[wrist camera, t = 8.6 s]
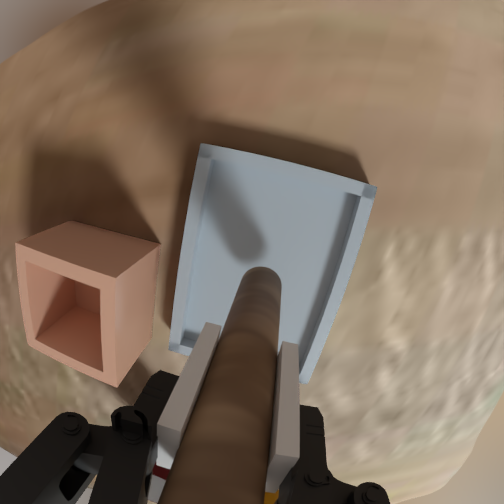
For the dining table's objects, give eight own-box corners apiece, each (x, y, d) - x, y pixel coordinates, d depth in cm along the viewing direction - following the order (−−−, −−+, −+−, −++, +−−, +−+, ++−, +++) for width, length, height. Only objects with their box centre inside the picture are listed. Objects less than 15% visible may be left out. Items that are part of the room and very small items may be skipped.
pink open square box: (72, 308, 30) (28, 344, 22) (71, 220, 26) (15, 242, 19) (151, 338, 29) (117, 387, 22) (161, 244, 26) (115, 278, 18)
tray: (306, 369, 28) (307, 384, 26) (175, 337, 29) (168, 349, 27) (369, 184, 23) (377, 187, 21) (208, 144, 23) (200, 143, 21)
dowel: (236, 298, 23) (152, 533, 6) (245, 261, 22) (149, 504, 5) (276, 308, 23) (246, 555, 6) (286, 272, 22) (271, 532, 5)
